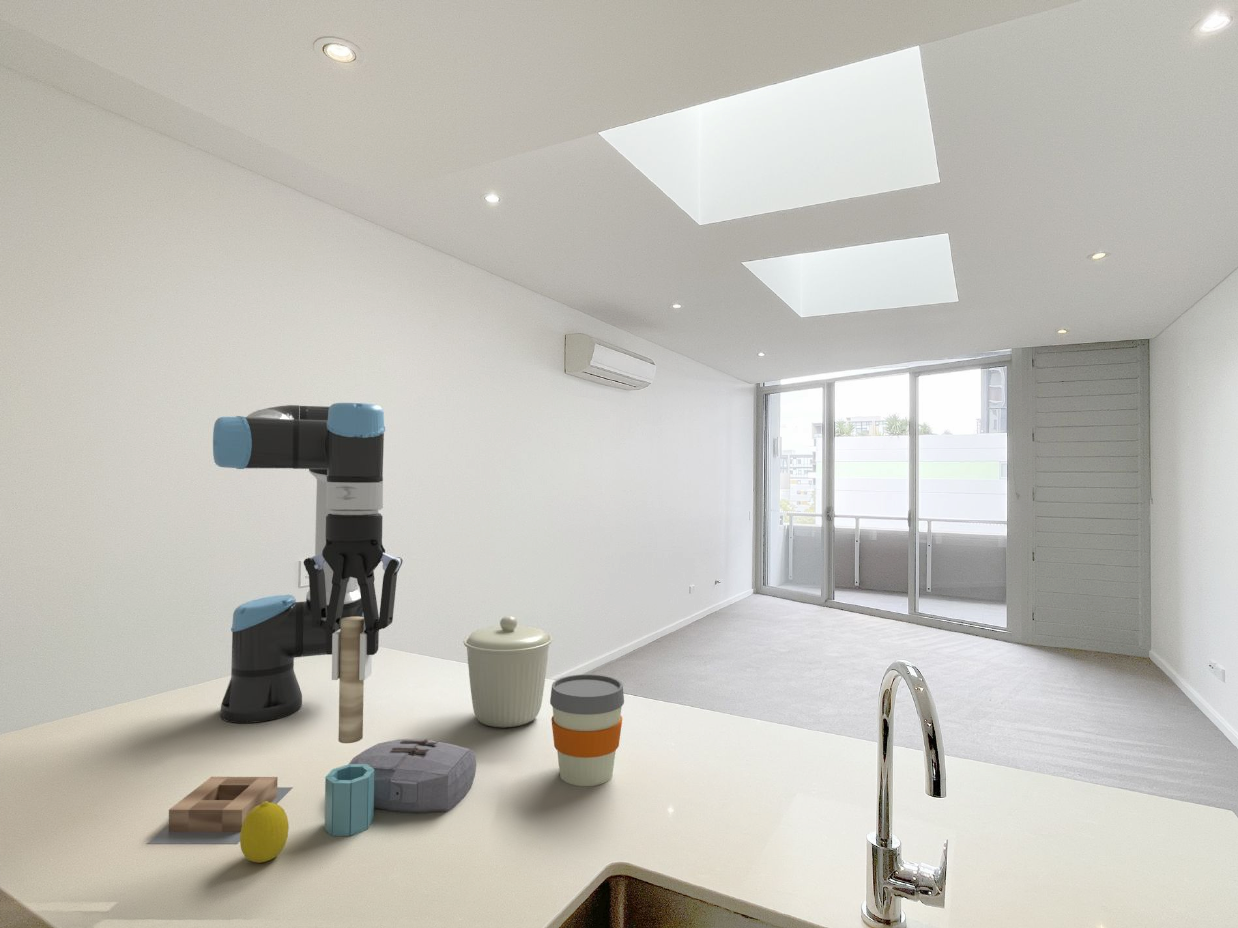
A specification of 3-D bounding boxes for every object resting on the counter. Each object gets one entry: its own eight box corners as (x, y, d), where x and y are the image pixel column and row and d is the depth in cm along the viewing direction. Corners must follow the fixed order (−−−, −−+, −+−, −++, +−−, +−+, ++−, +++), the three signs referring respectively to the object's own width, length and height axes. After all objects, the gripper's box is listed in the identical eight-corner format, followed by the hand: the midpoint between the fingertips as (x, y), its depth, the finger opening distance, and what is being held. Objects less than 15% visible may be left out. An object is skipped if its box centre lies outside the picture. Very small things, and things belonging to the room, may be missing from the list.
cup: (336, 818, 98) (337, 763, 98) (377, 818, 98) (378, 763, 98) (318, 841, 92) (319, 782, 92) (362, 841, 92) (363, 782, 92)
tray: (215, 792, 106) (215, 786, 106) (292, 792, 106) (292, 787, 106) (146, 849, 90) (146, 843, 90) (237, 849, 90) (237, 843, 90)
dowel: (343, 733, 97) (345, 616, 97) (366, 734, 97) (368, 616, 97) (334, 743, 94) (336, 621, 94) (357, 743, 94) (359, 621, 94)
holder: (211, 796, 103) (211, 776, 103) (277, 796, 103) (277, 776, 103) (168, 831, 93) (168, 809, 93) (241, 831, 93) (242, 809, 93)
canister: (568, 714, 141) (570, 614, 141) (510, 743, 126) (512, 630, 126) (504, 698, 151) (505, 604, 151) (443, 722, 136) (444, 618, 136)
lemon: (251, 852, 89) (252, 792, 89) (294, 851, 90) (295, 790, 90) (231, 877, 84) (232, 813, 84) (277, 876, 84) (278, 811, 84)
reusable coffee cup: (638, 773, 114) (639, 684, 114) (585, 799, 105) (586, 702, 105) (586, 751, 123) (588, 669, 123) (533, 773, 113) (534, 684, 113)
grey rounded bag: (484, 780, 111) (373, 770, 114) (485, 730, 111) (374, 720, 115) (446, 828, 96) (319, 814, 100) (447, 769, 96) (320, 757, 100)
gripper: (284, 513, 92) (281, 685, 92) (404, 514, 92) (401, 686, 92) (308, 509, 99) (306, 668, 99) (419, 511, 99) (416, 669, 99)
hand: (351, 676), depth 95 cm, fingers closed on dowel, 3 cm apart
